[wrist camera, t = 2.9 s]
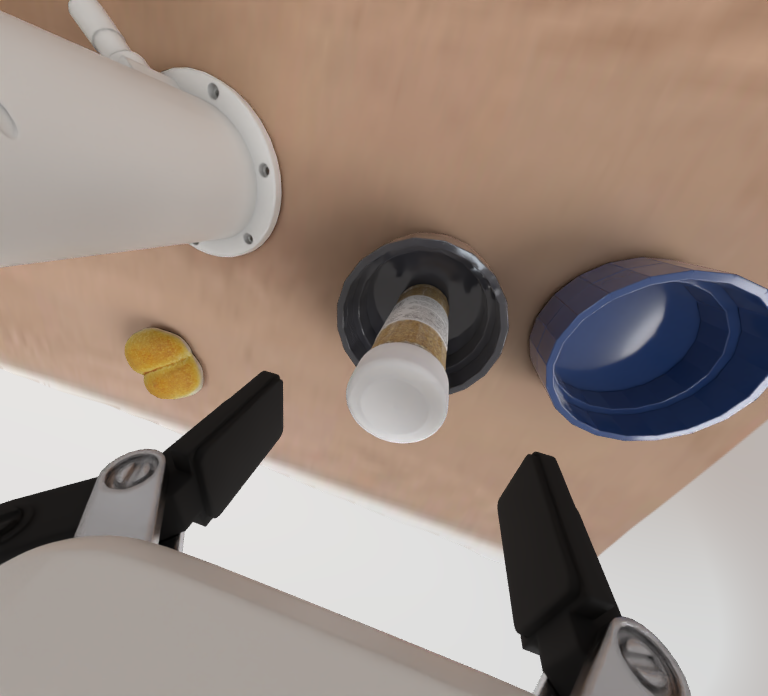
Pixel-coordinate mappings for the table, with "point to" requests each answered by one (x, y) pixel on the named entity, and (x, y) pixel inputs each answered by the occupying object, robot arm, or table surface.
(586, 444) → the table surface
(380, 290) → the charcoal bowl
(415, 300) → the sprinkles bottle
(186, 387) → the bread roll
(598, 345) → the navy bowl
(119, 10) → the table surface
